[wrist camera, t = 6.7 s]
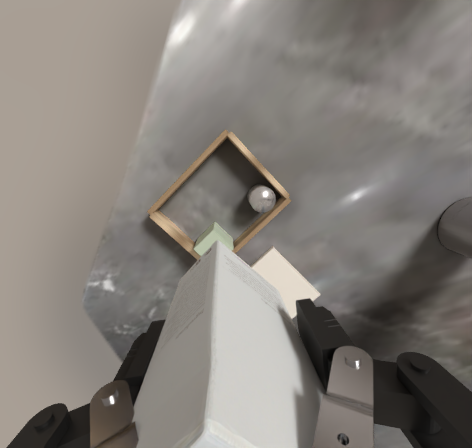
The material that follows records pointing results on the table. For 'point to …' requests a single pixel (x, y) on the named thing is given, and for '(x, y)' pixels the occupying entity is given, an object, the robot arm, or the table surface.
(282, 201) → the oak corral
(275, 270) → the ceramic pad
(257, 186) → the grey ball
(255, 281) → the skincare box
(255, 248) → the table surface
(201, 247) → the sage block
